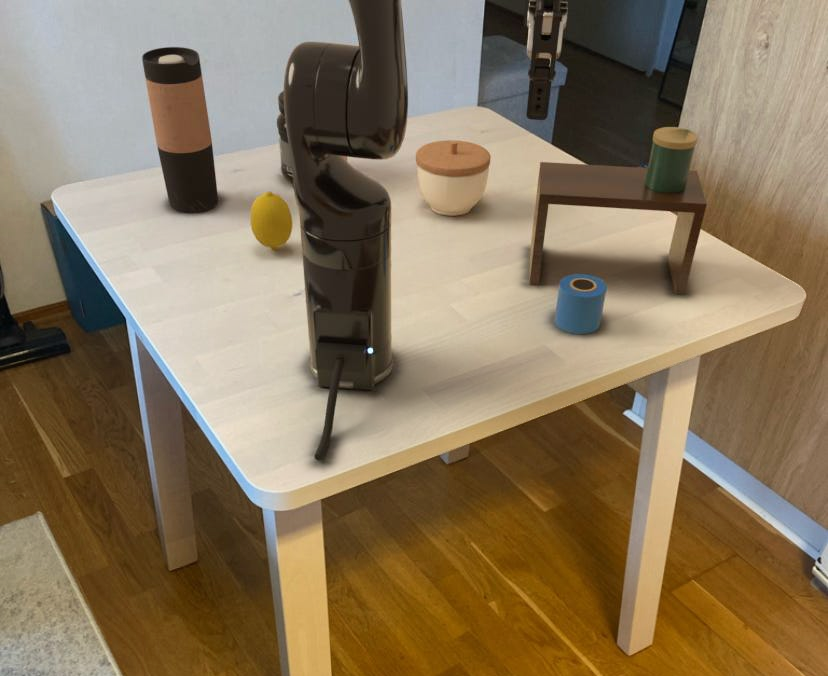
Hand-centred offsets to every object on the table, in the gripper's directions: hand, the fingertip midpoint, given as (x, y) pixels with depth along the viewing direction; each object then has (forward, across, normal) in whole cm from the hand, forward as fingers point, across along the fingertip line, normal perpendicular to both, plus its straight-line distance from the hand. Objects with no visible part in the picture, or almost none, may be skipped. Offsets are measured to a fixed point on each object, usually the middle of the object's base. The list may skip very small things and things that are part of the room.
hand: (537, 105), depth 96 cm
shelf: (+24, -10, +11) cm, 28 cm away
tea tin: (+12, -10, +17) cm, 23 cm away
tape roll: (+24, +3, +8) cm, 25 cm away
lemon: (+24, -10, -34) cm, 42 cm away
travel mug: (+24, -22, -49) cm, 59 cm away
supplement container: (+24, -35, -33) cm, 53 cm away
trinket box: (+24, -27, -11) cm, 38 cm away
